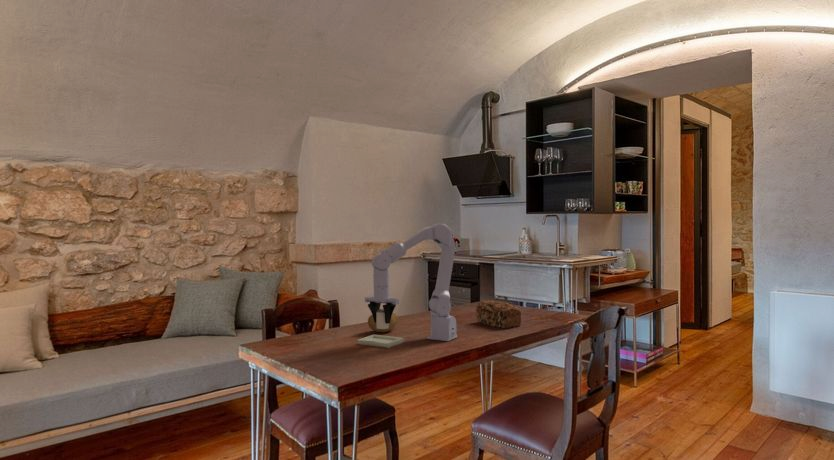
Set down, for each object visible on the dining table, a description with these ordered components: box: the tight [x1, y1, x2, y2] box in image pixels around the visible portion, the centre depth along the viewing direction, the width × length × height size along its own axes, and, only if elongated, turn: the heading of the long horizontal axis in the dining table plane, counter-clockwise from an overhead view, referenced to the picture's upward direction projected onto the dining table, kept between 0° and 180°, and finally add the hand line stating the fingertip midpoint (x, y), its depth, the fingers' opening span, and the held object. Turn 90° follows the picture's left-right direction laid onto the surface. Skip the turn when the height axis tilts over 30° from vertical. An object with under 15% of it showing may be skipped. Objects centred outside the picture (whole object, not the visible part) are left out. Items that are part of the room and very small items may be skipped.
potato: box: [367, 312, 399, 333], centre depth 206 cm, size 10×14×8 cm
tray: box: [357, 334, 405, 349], centre depth 186 cm, size 14×10×2 cm
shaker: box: [376, 308, 389, 329], centre depth 186 cm, size 5×5×7 cm
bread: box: [475, 299, 522, 329], centre depth 216 cm, size 19×11×10 cm, turn 31°
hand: (382, 322), depth 186 cm, fingers closed on shaker, 5 cm apart
